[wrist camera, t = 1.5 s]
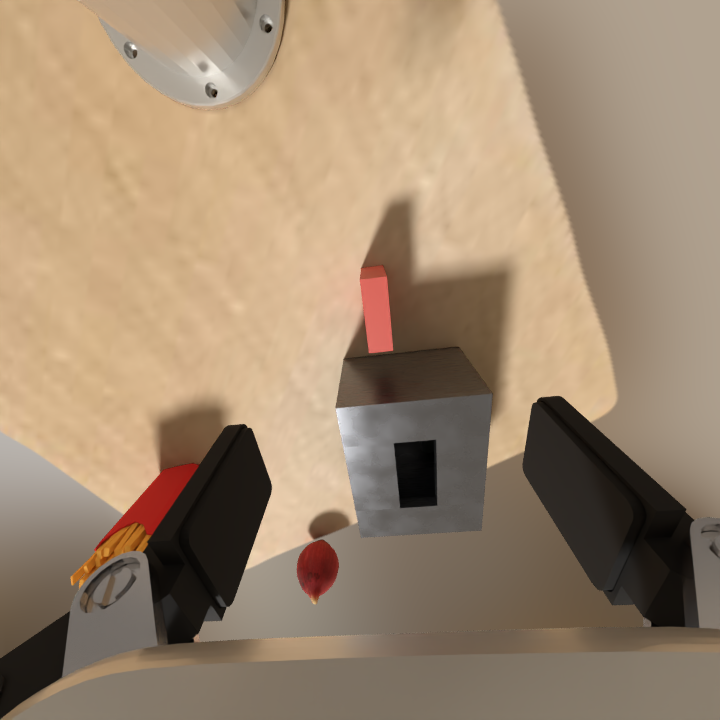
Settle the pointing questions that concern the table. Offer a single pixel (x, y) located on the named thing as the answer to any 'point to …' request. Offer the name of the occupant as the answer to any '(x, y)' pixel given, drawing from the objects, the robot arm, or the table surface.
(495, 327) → the table surface
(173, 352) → the table surface
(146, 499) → the french fries
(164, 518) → the robot arm
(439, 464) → the grey slotted box
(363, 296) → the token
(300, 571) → the onion
